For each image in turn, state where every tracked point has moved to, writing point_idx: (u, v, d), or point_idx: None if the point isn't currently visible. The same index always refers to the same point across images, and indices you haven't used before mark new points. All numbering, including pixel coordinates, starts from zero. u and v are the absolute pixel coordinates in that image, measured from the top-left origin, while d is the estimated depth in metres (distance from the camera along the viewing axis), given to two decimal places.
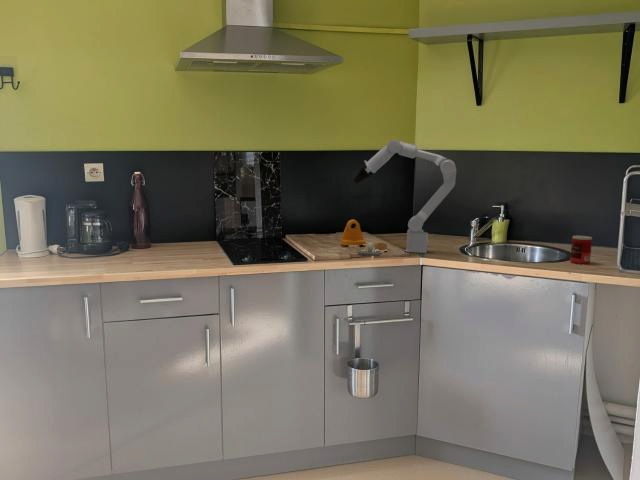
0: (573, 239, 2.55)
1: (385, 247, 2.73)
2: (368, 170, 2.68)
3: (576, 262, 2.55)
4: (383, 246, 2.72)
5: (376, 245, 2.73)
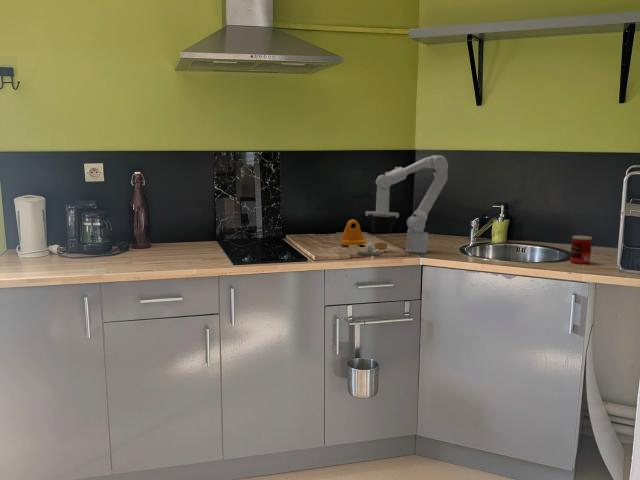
0: (573, 239, 2.55)
1: (385, 247, 2.73)
2: (398, 215, 2.71)
3: (576, 262, 2.55)
4: (383, 246, 2.72)
5: (376, 245, 2.73)
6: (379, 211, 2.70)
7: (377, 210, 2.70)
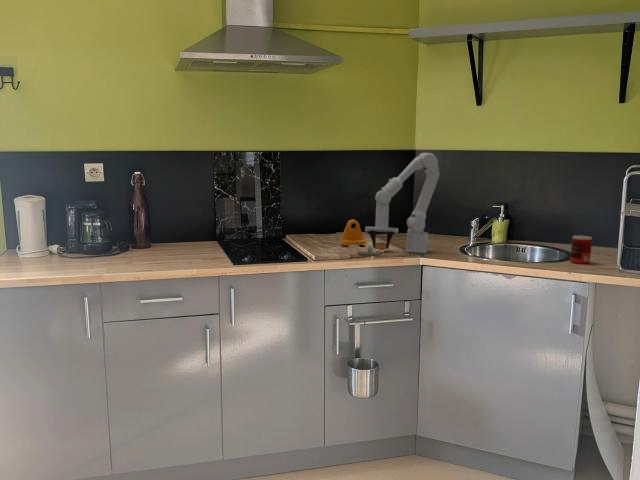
0: (573, 239, 2.55)
1: (385, 247, 2.73)
2: None
3: (576, 262, 2.55)
4: (383, 246, 2.72)
5: (376, 245, 2.73)
6: (378, 227, 2.71)
7: (376, 226, 2.72)
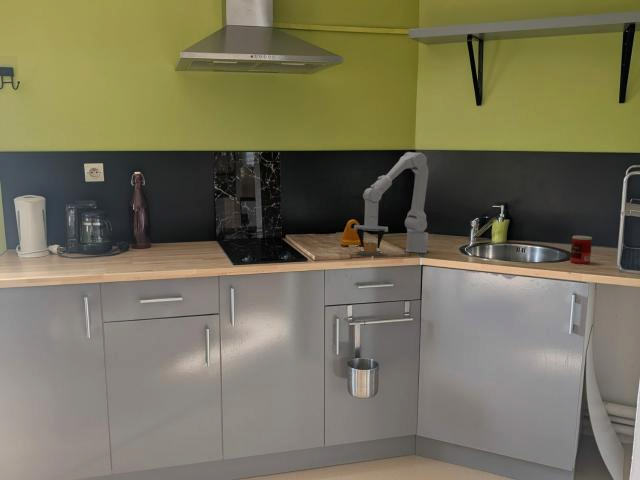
0: (573, 239, 2.55)
1: (374, 247, 2.65)
2: (387, 229, 2.64)
3: (576, 262, 2.55)
4: (372, 246, 2.64)
5: (365, 245, 2.66)
6: (368, 225, 2.63)
7: (366, 224, 2.64)
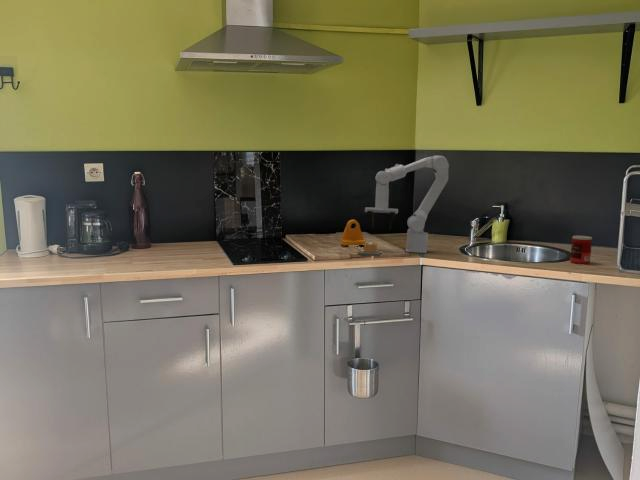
0: (573, 239, 2.55)
1: (374, 247, 2.65)
2: (397, 211, 2.72)
3: (576, 262, 2.55)
4: (372, 246, 2.64)
5: (365, 245, 2.66)
6: (378, 207, 2.71)
7: (376, 206, 2.71)
